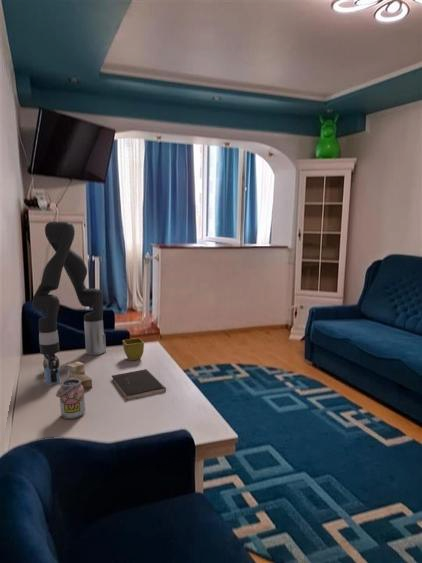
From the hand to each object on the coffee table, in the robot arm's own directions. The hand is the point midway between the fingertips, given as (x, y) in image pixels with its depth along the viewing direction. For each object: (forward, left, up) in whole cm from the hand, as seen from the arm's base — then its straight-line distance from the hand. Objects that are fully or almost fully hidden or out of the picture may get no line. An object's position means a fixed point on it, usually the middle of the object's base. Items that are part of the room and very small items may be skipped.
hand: (52, 379), depth 178 cm
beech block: (-10, +1, -1) cm, 10 cm away
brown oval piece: (-3, -13, -1) cm, 13 cm away
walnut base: (-8, +13, -1) cm, 15 cm away
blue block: (0, 0, -1) cm, 1 cm away
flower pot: (-40, -6, -1) cm, 40 cm away
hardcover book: (-28, +25, -2) cm, 37 cm away
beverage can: (+2, +35, -1) cm, 35 cm away
